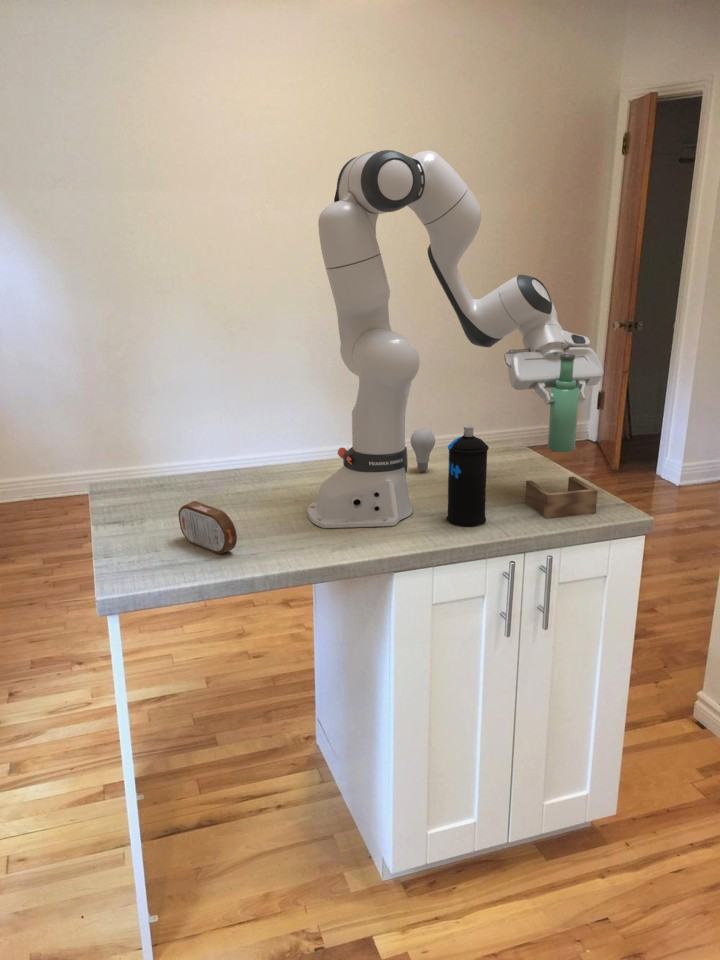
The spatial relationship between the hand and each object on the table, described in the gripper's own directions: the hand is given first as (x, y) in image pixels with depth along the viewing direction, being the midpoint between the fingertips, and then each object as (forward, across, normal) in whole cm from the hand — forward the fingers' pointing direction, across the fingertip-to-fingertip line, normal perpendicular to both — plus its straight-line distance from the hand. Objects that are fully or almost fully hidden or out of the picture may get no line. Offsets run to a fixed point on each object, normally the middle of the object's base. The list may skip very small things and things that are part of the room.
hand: (565, 402), depth 163 cm
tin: (+18, -75, +16) cm, 79 cm away
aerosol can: (+18, -22, +16) cm, 32 cm away
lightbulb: (-7, -20, +40) cm, 45 cm away
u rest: (+16, 0, +17) cm, 23 cm away
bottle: (+7, 0, +8) cm, 10 cm away
